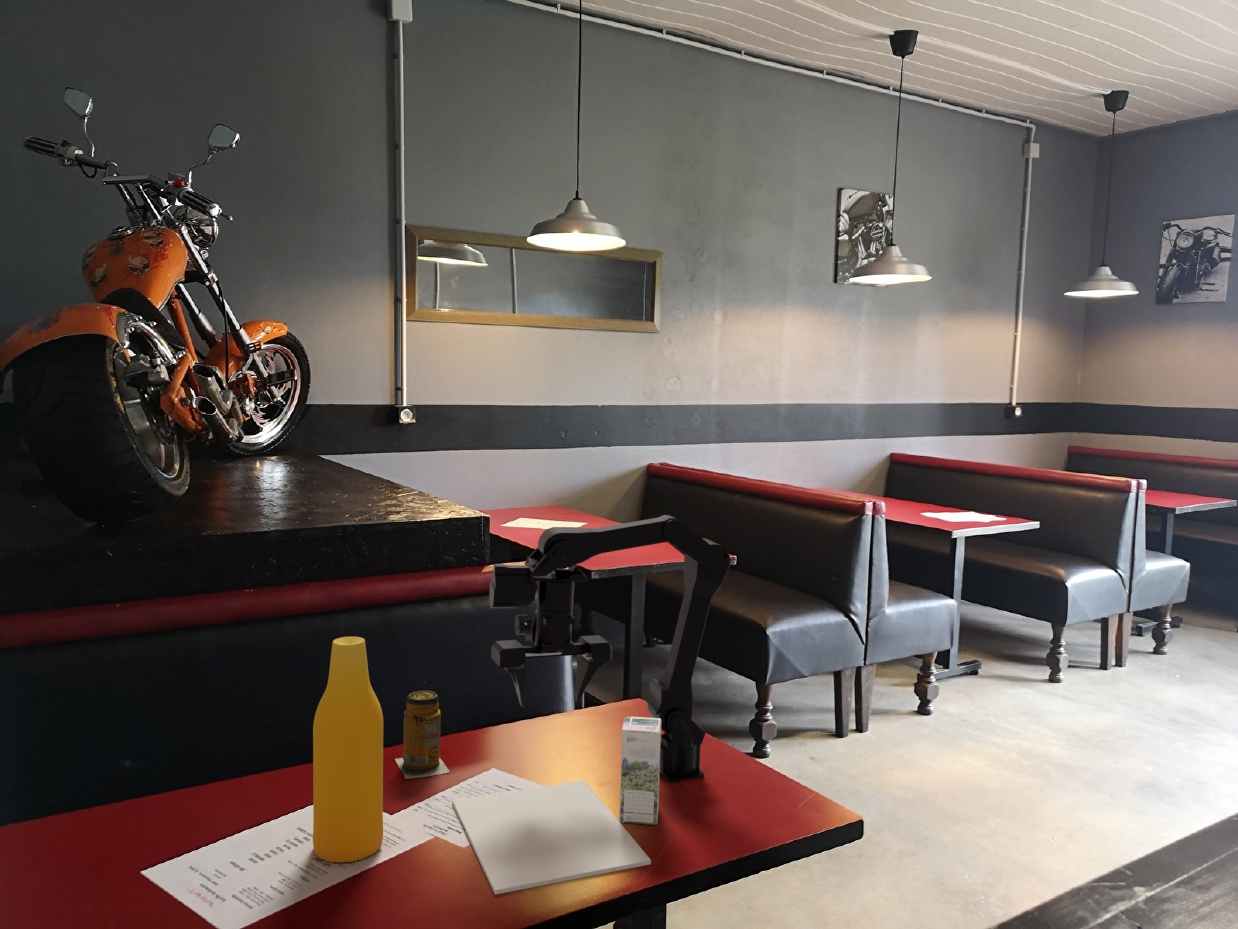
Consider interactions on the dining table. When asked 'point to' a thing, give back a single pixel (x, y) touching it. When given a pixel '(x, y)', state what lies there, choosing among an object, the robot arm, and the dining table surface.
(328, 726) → the beer bottle
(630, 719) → the syrup box
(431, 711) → the condiment
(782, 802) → the dining table surface
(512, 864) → the mat
